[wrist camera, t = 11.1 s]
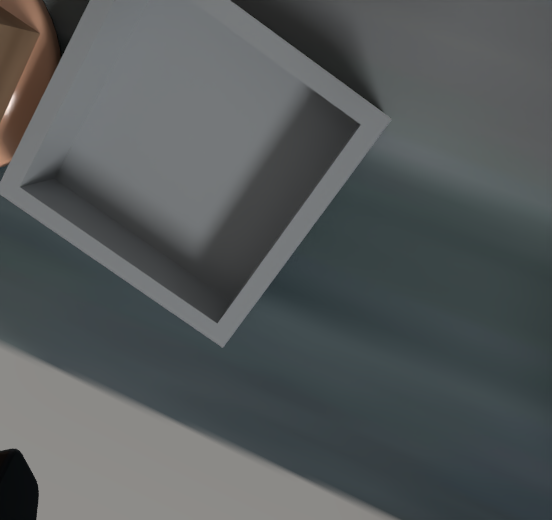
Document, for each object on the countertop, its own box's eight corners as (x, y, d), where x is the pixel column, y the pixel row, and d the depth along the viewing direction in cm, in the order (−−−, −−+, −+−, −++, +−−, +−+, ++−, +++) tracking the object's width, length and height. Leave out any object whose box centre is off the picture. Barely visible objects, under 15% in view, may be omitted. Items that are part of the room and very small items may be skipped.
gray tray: (386, 117, 16) (391, 119, 14) (237, 318, 19) (222, 347, 17) (158, -50, 16) (127, -76, 14) (39, 181, 19) (-5, 191, 16)
